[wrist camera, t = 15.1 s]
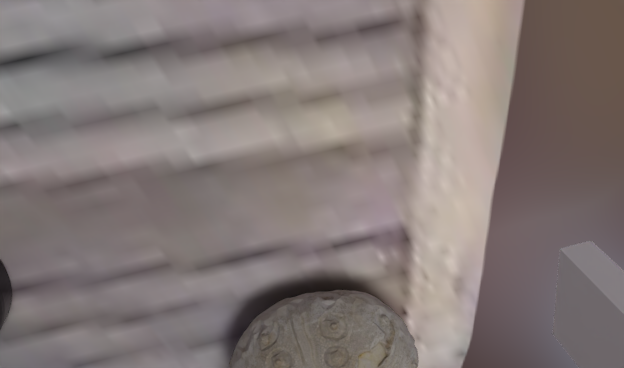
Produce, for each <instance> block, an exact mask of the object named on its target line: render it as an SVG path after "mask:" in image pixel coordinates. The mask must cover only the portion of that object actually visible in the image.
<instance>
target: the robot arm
mask: <svg viewBox="0 0 624 368" xmlns="http://www.w3.org/2000/svg"><path fill="white" fill-rule="evenodd" d="M11 297H12V295H11V285H10V281H9V278H8V275H7V273H6V271H5V269H4V267H3V265H2V263H1V262H0V330H1V328H2V325H3V323H4V321H5V319H6V317H7V314H8V312H9V309H10V305H11ZM555 300H556V301H555V311H554V312H555V313H554V323H553V335H554V336H555V338H556V339H557V340H558V341H559V343H560V344H561V345H562V347H563V348H564V349H565V350H566V352H567V353H568V354H569V356H570V357H571V358H572V359H573V361H574V362H575V363H576V365H577V366H578V367H579V368H624V271H623V270H622V269H621V268H620V267H619V266H618V265H617V264H616V263H615V262H614V261H613V260H612V259H610V258H609V257H608V256H607V255H606V254H605V253H604V252H603V251H602V250H601V249H600V248H598V247H597V246H596V245H595V244H594V243H593V242H592V241H588V242H584V243H580V244H576V245H572V246H568V247H565V248H560V252H559V264H558V276H557V288H556V299H555Z"/></svg>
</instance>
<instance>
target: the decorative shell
mask: <svg viewBox="0 0 624 368" xmlns="http://www.w3.org/2000/svg"><path fill="white" fill-rule="evenodd" d="M414 341H415V340H414V338H413V336H412V335H411V334H410V333H409V331H408V329H407V326H406V324H405V323H404V321H403V320H402V318H401V317H399V316H398V315H397V314H396V313H395V312H393V310H392V309H391V307H390V306H388V305H386V304H384V303H383V302H381V301H380V300H379V299H378V298H376V297H374V296H372V295H370V294H368V293H365V292H359V291H355V290H353V291H349V290H334V291H328V292H314V293H305V294H301V295H298V296H296V297H292V298H286V299H283V300H281V301H279V302H277V303H276V304H274V305H272V306H270V307H269V308H268V309H267V310H265V311H264V312H262V313H261V314H259V315H258V316H257V317H256V318H255V319H254V320H253V321H252V322H251V324H250V325H249V327H248V328H247V330H246V331H245V332H243V335H242V336H241V337H240V339H239V341H238V343H237V345H236V348H235V350H234V352H233V355H232V358H231V360H230V363H229V364H230V368H417V367H418V353H417V349H416V347H415V345H414Z"/></svg>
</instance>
